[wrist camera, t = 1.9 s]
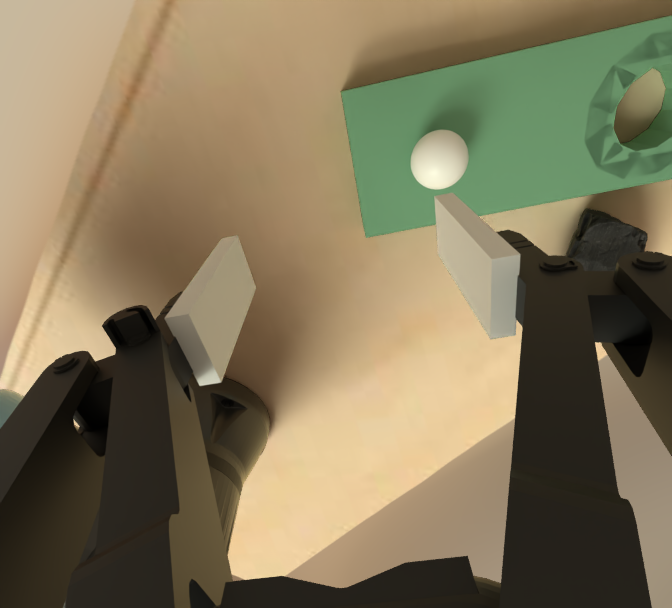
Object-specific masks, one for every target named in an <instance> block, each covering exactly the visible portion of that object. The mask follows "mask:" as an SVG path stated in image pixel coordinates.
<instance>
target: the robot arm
mask: <svg viewBox="0 0 672 608" xmlns="http://www.w3.org/2000/svg"><path fill="white" fill-rule="evenodd" d="M434 199H435V215H436V231H437V247H438V255H439V257H440V259H441V260H442V262H443V264H444V265H445V267H446V268H447V270H448V272H449V273H450V275H451V277H452V278H453V280H454V281H455V283H456V285H457V286H458V288H459V289H460V291H461V293H462V294H463V296H464V298H465V299H466V301H467V302H468V304H469V306H470V307H471V309H472V310H473V312H474V314H475V315H476V317H477V319H478V320H479V322H480V323H481V325H482V327H483V328H484V330H485V331H486V333H487V335H488V336H489V338H490V339H496V338H502V337H508V336H514V335H516V320H518V322H519V323H520V324H521V325H522V327H523V330H522V342H521V354H520V366H519V378H518V391H517V403H516V415H515V427H514V440H513V451H512V464H511V472H510V484H509V496H508V507H507V520H506V531H505V544H504V555H503V567H502V579H501V583H499V582H495V581H492V580H490V579H487V578H482V577H477V576H473V573H472V570H471V567H470V563H469V559H468V556H463V557H454V558H444V559H435V560H427V561H417V562H408V563H404V564H401V565H399V566H397V567H394V568H392V569H390V570H387V571H385V572H383V573H380V574H378V575H376V576H373V577H371V578H368V579H367V580H364V581H361V582H359V583H357V584H355V585H352V586H350V587H347V588H335V587H330V586H325V585H321V584H316V583H312V582H307V581H303V580H298V579H293V578H289V577H284V576H278V577H269V578H259V579H250V580H241V581H233V580H232V575H231V570H230V565H229V560H228V551H229V546H230V542H231V537H232V532H233V528H234V523H235V518H236V514H237V509H238V505H239V500H240V495H241V491H242V487H243V484H244V482H245V480H246V479H247V477H248V475H249V474H250V472H251V471H252V469H253V467H254V465H255V464H256V462H257V460H258V458H259V456H260V455H261V454H262V452H263V450H264V448H265V446H266V443H267V439H268V434H269V428H270V418H269V414H268V411H267V409H266V407H265V405H264V404H263V402H262V401H261V400H260V399H259V398H258V397H257V396H256V395H255V394H254V393H253V392H252V391H251V390H249V389H248V388H246V387H245V386H243V385H241V384H239V383H237V382H235V381H232V380H230V379H227V378H223V377H224V374H225V371H226V369H227V366H228V363H229V361H230V358H231V355H232V352H233V350H234V347H235V344H236V342H237V339H238V336H239V334H240V331H241V328H242V325H243V323H244V320H245V317H246V315H247V312H248V309H249V307H250V304H251V301H252V298H253V296H254V293H255V290H256V286H255V283H254V280H253V277H252V274H251V271H250V269H249V266H248V263H247V260H246V257H245V254H244V251H243V249H242V246H241V243H240V240H239V237H238V235H236V236H231V237H226V238H221V240H220V241H219V243H218V244H217V245H216V247H215V248H214V250H213V251H212V252H211V254H210V255H209V257H208V258H207V259H206V261H205V262H204V264H203V265H202V266H201V268H200V269H199V271H198V272H197V273H196V275H195V276H194V278H193V279H192V280H191V282H190V283H189V285H188V286H187V287H186V289H185V290H184V291H183V292H180V293H178V294H177V295H176V296H175V297H173V298H172V299H171V300H170V301H169V302H168V304H167V305H166V306H165V308H164V309H163V310H162V312H161V313H160V315H159V316H158V317H157V318H156V320H154V318H153V316H152V314H151V312H150V310H149V309H148V307H147V306H143V305H139V306H133V307H130V308H126V309H124V310H122V311H119V312H117V313H116V314H114V315H112V316H111V317H109V318H108V319H107V320H106V321H105V322H104V324H103V325H102V327H103V328H104V330H105V332H106V333H107V335H108V336H109V338H110V339H111V341H112V343H113V344H114V346H115V347H116V354H115V355H113V356H110V357H107V358H104V359H102V360H99V361H96V362H95V361H94V359H93V358H92V356H91V355H90V354H89V352H88V351H79V352H74V353H71V354H66V355H64V356H62V358H61V357H60V358H58V359H57V360H55V362H54V363H52V364H51V365H49V366H48V367H47V368H46V369H45V370H44V371H43V372H42V374H41V375H40V376H39V378H38V379H37V380H36V382H35V383H34V384H33V386H32V387H31V388H30V390H29V391H28V392H27V394H26V395H25V396H22V395H20V394H18V393H16V392H14V391H11V390H6V389H0V608H652V607H651V601H650V596H649V590H648V584H647V579H646V574H645V568H644V562H643V557H642V552H641V546H640V541H639V535H638V530H637V524H636V520H635V516H634V512H633V508H632V506H631V504H630V502H629V501H628V500H627V499H623V498H621V497H620V495H619V493H618V488H617V482H616V476H615V469H614V463H613V456H612V450H611V444H610V437H609V430H608V424H607V417H606V411H605V405H604V398H603V392H602V386H601V379H600V372H599V366H598V359H597V353H596V347H595V342H601V343H602V346H603V348H604V349H605V351H606V353H607V354H608V356H609V357H610V359H611V360H612V362H613V364H614V365H615V367H616V368H617V370H618V372H619V373H620V375H621V376H622V378H623V380H624V381H625V383H626V384H627V386H628V387H629V389H630V391H631V392H632V394H633V395H634V397H635V399H636V400H637V402H638V403H639V405H640V407H641V408H642V410H643V411H644V413H645V414H646V416H647V418H648V419H649V421H650V422H651V424H652V426H653V427H654V429H655V430H656V432H657V433H658V435H659V437H660V438H661V440H662V442H663V443H664V445H665V446H666V448H667V449H668V451H669V453H670V454H671V456H672V256H668V255H664V254H662V253H658V252H655V253H653V252H648V251H647V252H636V253H631V254H626V255H624V256H621V257H620V258H619V259H618V261H617V264H616V269H615V271H584V269H583V266H582V264H581V263H580V262H579V261H577V260H575V259H573V258H569V257H565V256H548V255H547V254H545V253H544V252H543V251H542V250H540V249H539V248H538V247H537V246H534V244H533V243H532V242H530V241H528V239H527V238H525V237H524V236H523V235H522V234H520V233H517V232H513V231H510V230H505V231H500V232H495V231H494V230H493V229H492V228H491V227H490V226H489V225H488V224H487V223H485V222H484V221H483V220H482V219H481V218H480V217H479V216H478V215H477V214H476V213H474V212H473V211H472V210H471V209H470V208H469V207H468V206H467V205H466V204H465V203H463V202H462V201H461V200H460V199H459V198H458V197H457V196H456V195H455V194H453V193H448V194H443V195H437V196H434ZM192 373H193V374H192ZM73 419H74V420H75V421H76V422H77V424H78V425H79V426H80V427H77V426H76V425H74V420H73Z"/></svg>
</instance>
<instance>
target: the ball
mask: <svg viewBox="0 0 672 608" xmlns="http://www.w3.org/2000/svg"><path fill="white" fill-rule="evenodd" d="M468 159H469V154H468V148H467V146H466V144H465V142H464V140H463V139H462V138H461V137H460V136H459V135H458V134H456V133H455V132H452V131H449V130H435V131H432V132H430V133H428V134H426V135H425V136H423V137H422V138H421V139H420V140H419V141H418V142H417V144H416V145H415V147H414V149H413V152H412V155H411V170H412V173H413V175H414V177H415V179H416V180H417V181H418V182H419V183H420V184H421V185H423V186H424V187H426V188H429V189H435V190H439V189H444V188H447V187H450V186H452V185H453V184H455V183H456V182H457V181H458V180H459V179H460V178H461V177H462V176H463V174H464V172H465V170H466V168H467V165H468Z"/></svg>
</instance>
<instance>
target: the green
mask: <svg viewBox="0 0 672 608" xmlns="http://www.w3.org/2000/svg"><path fill="white" fill-rule="evenodd" d="M651 68H653V69H656V70H658V71H660V73H661V76H662V79H663V81H664V84H665V87H666V91H665V95H664V100H663V104H662V109H661V111H660V112H659V114H658V115H657V116H656V118H655V119H654V121H653V122H652V124H651V125H650V126H649V128H648V129H647V130H645V131H644V132H643V133H641V134H640V135H638V136H637V137H636V138H634V139H633V140H631V141H630V142H626V143H621V144H620V142H619V140H618V138H617V136H616V133H615V131H614V129H613V127H614V121H615V115H616V109H617V105H618V104H619V102H620V101H621V99H622V98H623V96H624V94H625V93H626V91H627V90H628V88H629V87H630V85H631V84H632V83H633V82H634V81H636V80H637V79H638V78H640V77H641V76H642V75H644V74H645V73H646V72H648V71H649V70H650V69H651ZM341 96H342V102H343V108H344V114H345V120H346V125H347V131H348V137H349V143H350V149H351V155H352V161H353V167H354V173H355V179H356V185H357V191H358V197H359V203H360V209H361V215H362V221H363V227H364V231H365V236H366V238H368V237H373V236H378V235H383V234H389V233H394V232H399V231H404V230H409V229H415V228H420V227H425V226H430V225H435V224H436V215H435V199H434V196H437V195H443V194H448V193H453V194H455V195H456V196H457V197H458V198H459V199H460V200H461V201H462V202H463V203H465V204H466V205H467V206H468V207H469V208H470V209H471V210H472V211H473V212H474V213H476V214H477V215H478V216H482V215H488V214H493V213H498V212H503V211H508V210H514V209H519V208H524V207H529V206H534V205H540V204H545V203H550V202H555V201H561V200H566V199H571V198H576V197H581V196H587V195H592V194H597V193H602V192H607V191H613V190H618V189H623V188H628V187H633V186H639V185H644V184H649V183H654V182H659V181H665V180H670V179H672V15H669V16H665V17H661V18H656V19H652V20H648V21H643V22H639V23H635V24H630V25H626V26H621V27H617V28H613V29H608V30H604V31H600V32H595V33H591V34H587V35H582V36H578V37H574V38H569V39H565V40H561V41H556V42H552V43H548V44H543V45H539V46H535V47H530V48H526V49H522V50H517V51H513V52H509V53H504V54H500V55H496V56H491V57H487V58H483V59H478V60H474V61H470V62H465V63H461V64H457V65H452V66H448V67H444V68H439V69H435V70H431V71H426V72H422V73H418V74H413V75H409V76H405V77H400V78H396V79H392V80H387V81H383V82H379V83H374V84H370V85H366V86H361V87H357V88H353V89H348V90H344V91H341ZM435 130H449V131H452V132H455V133H456V134H458V135H459V136H460V137H461V138H462V139H463V140H464V142H465V144H466V146H467V148H468V154H469V159H468V165H467V168H466V170H465V172H464V174H463V176H462V177H461V178H460V179H459V180H458V181H457V182H456V183H455V184H453V185H452V186H450V187H447V188H444V189H439V190H435V189H429V188H426V187H424V186H423V185H421V184H420V183H419V182H418V181H417V180H416V179H415V177H414V175H413V173H412V170H411V155H412V152H413V149H414V147H415V145H416V144H417V142H418V141H419V140H420V139H421V138H422V137H423V136H425V135H426V134H428V133H430V132H432V131H435Z"/></svg>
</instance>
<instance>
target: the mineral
mask: <svg viewBox="0 0 672 608" xmlns="http://www.w3.org/2000/svg"><path fill="white" fill-rule="evenodd" d="M646 241H647V233H646V232H645V231H643V230H641V229H639V228H636V227H633V226H631V225H629V224H625V223H623V222H621V221H620V220H619V219H617V218H615V217H612V216H610V215H609V214H607V213H605V212H602V211H596V210H590V209H585V211H584V212H583V214H582V215H581V218H580V221H579V224H578V229H577V230H576V232H575V233H574V235H573V238H572V240H571V242H570V245H569V248H568V251H567V253H566V255H565V257H569V258H573V259H575V260H577V261H579V262H580V263H581V264H582V266H583V269H584V271H615V269H616V264H617V261H618V259H619V258H620V257H621V256H624V255H626V254H631V253H636V252H644V249H645V246H646Z"/></svg>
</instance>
